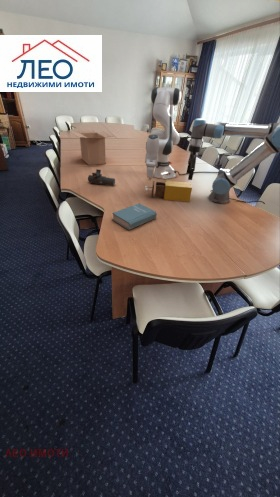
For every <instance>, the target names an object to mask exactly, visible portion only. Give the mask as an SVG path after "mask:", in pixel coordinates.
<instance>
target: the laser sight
mask: <svg viewBox="0 0 280 497" xmlns="http://www.w3.org/2000/svg"><path fill="white" fill-rule="evenodd" d="M101 172H102V170H101V169H97V168H96V170H95V172H92V173H91V174H89V175H88V177H87V182H88V183H90V184H95V185H101V186H102V185H103V186H106V185H108V186H115V185H116V178H113V177H106V176H104V175H103V174H102V173H101Z"/></svg>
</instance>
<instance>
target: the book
mask: <svg viewBox="0 0 280 497" xmlns="http://www.w3.org/2000/svg"><path fill="white" fill-rule="evenodd" d="M157 214H158V213H157V211H156V210H154V209H152V208H149V207H148V206H146V205H144V204H142V203H139V202H138V203H136V204H133V205H130V206H126V207H125V208H121V209H120V210H119V209H118V210H116V211H114V212H112V217H113V218H112V221H113V222H115V223H117V224H118V225H119V226H121V227H123V228H125V230H128V231H130V230H132V229H135V228H137V227H139V226H141V225H143V224H146V223H149V222H151V221H152V220H155V219H156V218H157Z"/></svg>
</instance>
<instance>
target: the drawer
mask: <svg viewBox="0 0 280 497" xmlns="http://www.w3.org/2000/svg"><path fill="white" fill-rule="evenodd" d="M148 188H149V189H148ZM147 191H148V192H151V198H154V197H156V198H164V194H165V181H164V182H162V181H156V182H155V180H152V186H148V185H145V186H144V192H147Z"/></svg>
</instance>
